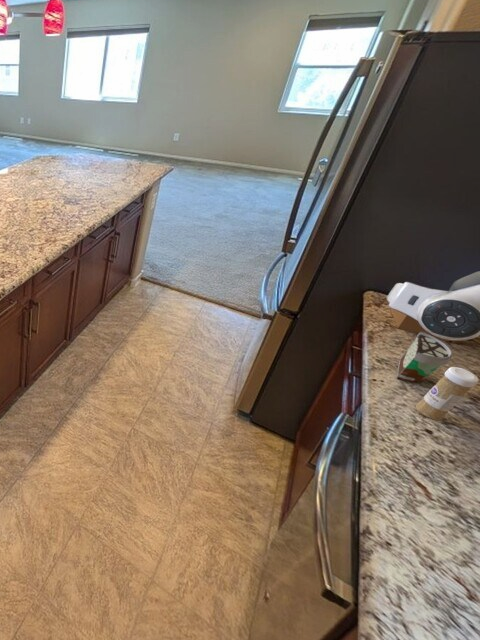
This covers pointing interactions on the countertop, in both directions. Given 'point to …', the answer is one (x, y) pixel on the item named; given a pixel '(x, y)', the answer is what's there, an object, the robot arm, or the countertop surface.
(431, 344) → the food container
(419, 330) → the carton
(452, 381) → the sprinkles bottle
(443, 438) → the countertop surface
